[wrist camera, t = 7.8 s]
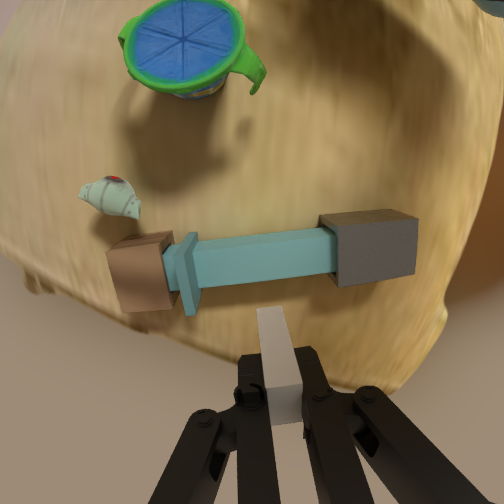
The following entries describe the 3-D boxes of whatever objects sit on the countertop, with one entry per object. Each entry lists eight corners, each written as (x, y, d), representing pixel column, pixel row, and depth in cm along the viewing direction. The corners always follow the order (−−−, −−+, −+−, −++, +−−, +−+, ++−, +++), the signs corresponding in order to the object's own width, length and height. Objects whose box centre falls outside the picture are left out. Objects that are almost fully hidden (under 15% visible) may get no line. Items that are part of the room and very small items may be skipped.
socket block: (126, 236, 32) (105, 252, 26) (172, 230, 32) (158, 245, 26) (139, 288, 34) (122, 312, 28) (182, 284, 34) (172, 309, 28)
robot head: (95, 198, 30) (67, 206, 24) (104, 166, 29) (75, 168, 23) (150, 217, 31) (130, 230, 25) (161, 185, 30) (142, 190, 24)
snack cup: (278, 68, 27) (295, 31, 17) (229, 139, 29) (226, 126, 20) (169, 19, 24) (149, -23, 14) (121, 84, 26) (82, 59, 16)
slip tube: (145, 238, 32) (117, 262, 23) (343, 215, 32) (376, 232, 24) (155, 284, 34) (133, 319, 25) (344, 262, 34) (373, 291, 26)
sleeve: (319, 214, 32) (338, 226, 26) (390, 209, 33) (418, 218, 26) (321, 267, 34) (338, 287, 28) (389, 257, 35) (414, 274, 28)
